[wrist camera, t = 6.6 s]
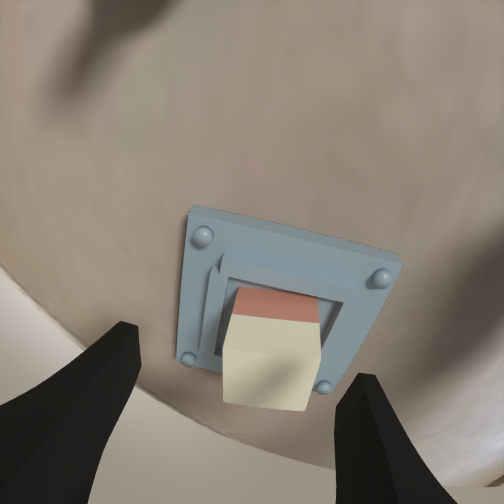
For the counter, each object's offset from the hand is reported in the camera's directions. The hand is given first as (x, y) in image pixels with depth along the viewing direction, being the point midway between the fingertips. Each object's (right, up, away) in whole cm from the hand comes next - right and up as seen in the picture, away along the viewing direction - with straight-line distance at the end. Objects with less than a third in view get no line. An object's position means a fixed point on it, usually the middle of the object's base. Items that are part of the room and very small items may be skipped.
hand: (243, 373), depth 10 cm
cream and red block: (+2, 0, +10) cm, 10 cm away
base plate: (+2, 0, +11) cm, 11 cm away
